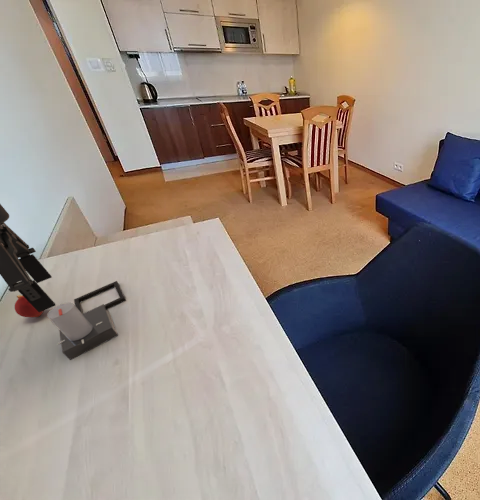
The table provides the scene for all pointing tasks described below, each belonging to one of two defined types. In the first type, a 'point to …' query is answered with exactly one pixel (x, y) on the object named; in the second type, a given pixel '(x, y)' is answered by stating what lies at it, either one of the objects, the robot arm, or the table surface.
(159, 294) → the table surface
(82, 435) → the table surface
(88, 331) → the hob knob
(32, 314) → the onion
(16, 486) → the table surface
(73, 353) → the panel
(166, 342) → the table surface
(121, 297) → the frame
